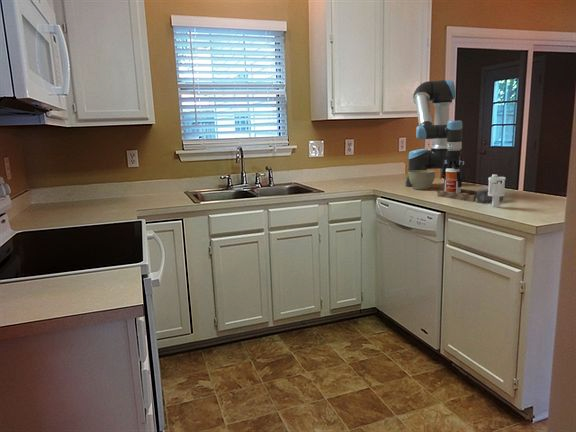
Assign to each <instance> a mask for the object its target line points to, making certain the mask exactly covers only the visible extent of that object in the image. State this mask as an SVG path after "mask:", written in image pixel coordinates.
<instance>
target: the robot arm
mask: <svg viewBox="0 0 576 432" xmlns="http://www.w3.org/2000/svg"><path fill="white" fill-rule="evenodd" d="M456 94H457V93H456V85H455V82H454V81H453V80H450V79H448V80H447V79H444V80H429V81H428V80H427V81H424V82H422V83H420V85H419V84H418V86H417V87H416V88H415V90H414V92H413V97H412V98H413V99H412V100H413V103H414V104H415V109H416V113H417V122H418V126H416V128H415V130H416V131H415V133H416V134H415V136H416V139H418V140H433V145H432V146H431V147H430V150H429V149H428V148H420V149H419V148H418V149H414V150H411V151H409V152H408V158H407V159H408V167H407V168H408V171H413V170H436V169H437V170H439V169H441V175H440V176H441V179H443V180H444V181H443V185H444V191H446V168H454V169H460V172H457V181H456V193H461V189H462V185H463V181H464V180H466V169H465V167H466V166H465V164H466V161H464V160H463V161H462V160H461V157H462V148H463V147H462V143H463V141H462V139H463V121H462V120H450V106H451V104H453V100H456ZM430 101H431V104H432V105H433V107H434V117H432V113H431V111H432V110H431V107H430ZM433 118H434V123H433ZM408 171H407V172H408ZM405 186H406V187H411V188H413V186H412V184H411V183H410V180H409V174H407V177H406V181H405Z"/></svg>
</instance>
